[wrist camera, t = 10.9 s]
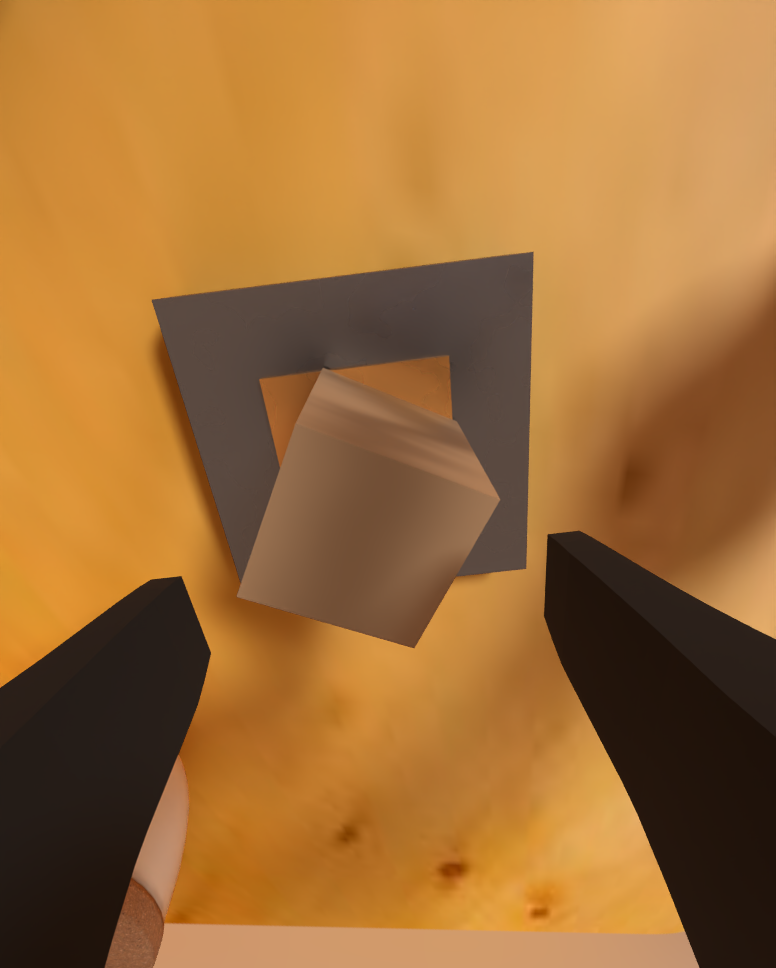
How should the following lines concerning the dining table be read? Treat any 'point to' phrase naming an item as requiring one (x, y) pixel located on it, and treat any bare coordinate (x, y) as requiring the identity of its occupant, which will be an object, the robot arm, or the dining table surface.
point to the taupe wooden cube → (368, 513)
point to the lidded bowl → (153, 879)
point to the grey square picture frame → (360, 376)
